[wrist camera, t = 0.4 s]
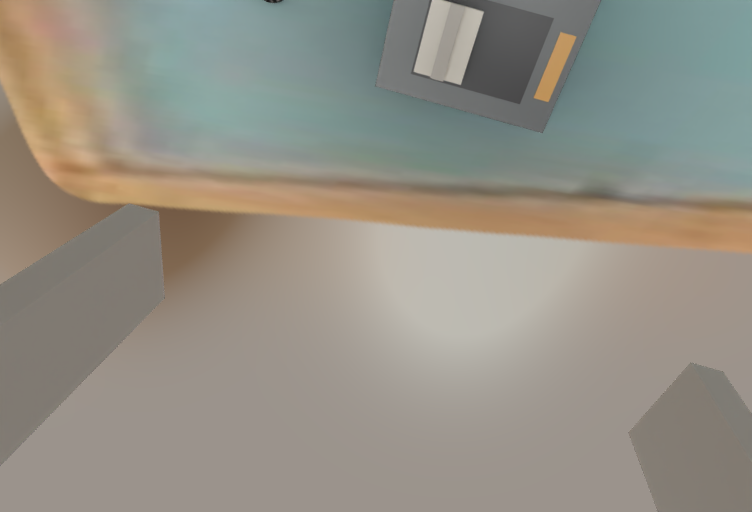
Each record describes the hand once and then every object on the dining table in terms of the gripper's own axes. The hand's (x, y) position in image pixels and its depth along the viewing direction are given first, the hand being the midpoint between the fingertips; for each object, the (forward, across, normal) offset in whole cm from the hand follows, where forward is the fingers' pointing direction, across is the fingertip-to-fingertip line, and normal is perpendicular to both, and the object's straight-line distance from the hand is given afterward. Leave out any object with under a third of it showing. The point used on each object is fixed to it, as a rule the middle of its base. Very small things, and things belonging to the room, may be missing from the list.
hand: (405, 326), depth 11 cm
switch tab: (+23, -1, +4) cm, 23 cm away
